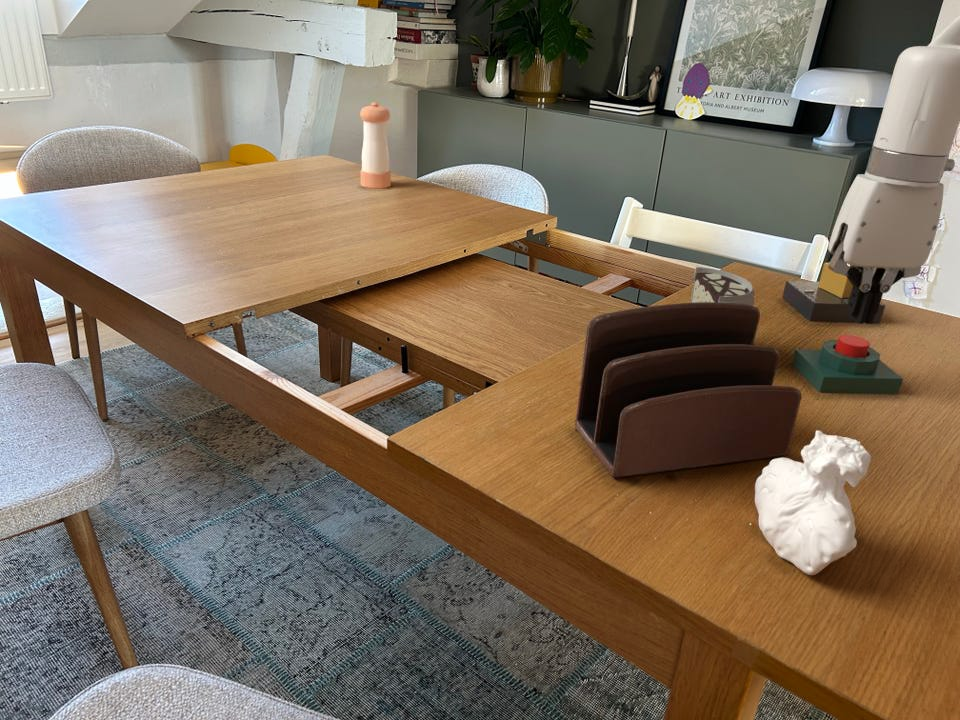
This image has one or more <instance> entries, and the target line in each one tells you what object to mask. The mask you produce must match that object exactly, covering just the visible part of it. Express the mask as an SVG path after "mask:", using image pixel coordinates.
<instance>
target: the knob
mask: <svg viewBox="0 0 960 720" xmlns="http://www.w3.org/2000/svg"><path fill="white" fill-rule="evenodd" d="M829 263H830V261H828V262H824V263H823V267H822V270H821V273H820V274H821V275H820V278H819V280H818V282H819V285H818V287H820V288H822V289H824V290H826V291H828V292H830V293H832V294H834V295H836V296H838V297H840V298H850V294H851V291H852V287H853V285H852V284H850V282H849V279H848V278H847V276H845V275H841V274H838V273H835V272H833V271H832V270H830V269H829V268H828V265H829Z"/></svg>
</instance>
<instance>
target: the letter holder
mask: <svg viewBox="0 0 960 720" xmlns="http://www.w3.org/2000/svg"><path fill="white" fill-rule="evenodd" d="M760 319H761V312H760V309H759V308H758V307H757V306H751V305H746V304H736V303H721V302H694V303H691V302H681V303H679V302H678V303H671V304H670V303H669V304H658V305H650V306H643V307H635V308H629V309H623V310H617V311H613V312H607V313H603V314H599V315H597V316H595V317H594V318H592V319H591V320H590V321H589V323H588V324H587V328H586V333H585V342H584V349H583V357H582V358H583V359H582V366H581V367H582V369H581V376H580V382H579V390H578V391H579V392H578V401H577V408H576V413H575V420H574V429H575V431H577V433H578V434H579V435H580V436H581V437H582V439H583V440H584V442H585V443H586V444H587V445H588V447H589V449H591V451H592V452H593V454H594V455H595V456H596V457H597V459H598V460H599V462H600V463H601V464H602V466H603V467H604V468H605V470H606V471H607V472H608V473H609V475H610V476H611V477H612V478H613V479H616V478H623V477H631V476H639V475H646V474H647V475H648V474H656V473H664V472H671V471H678V470H687V469H694V468H701V467H710V466H715V465H716V466H718V465H723V464H724V465H725V464H733V463H741V462H747V461H754V460H755V461H756V460H765V459H772V458H781V457H786V456H787V455H789V453H790V449H791V447H790V446H791V442H792V439H793V434H794V430H795V427H796V422H797V418H798V413H799V409H800V405H801V401H802V392H801V390H799V388H796V387H794V386H788V385H773V383H774V380H775V376H776V371H777V368H778V364H779V360H780V351H779V350H778V348H775V347H773V346H772V347H771V346H764V345H763V346H762V345H754V342H755V339H756V335H757V330H758V326H759V323H760Z"/></svg>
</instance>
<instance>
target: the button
mask: <svg viewBox="0 0 960 720" xmlns="http://www.w3.org/2000/svg"><path fill="white" fill-rule="evenodd" d="M836 340H837V344H836V347H835V350H836V351H837V352H839V353H841V354H843V355H846V356H851V357H856V358H865V357H866V355H867V352H868V349H869V347H871V343H870V341H869V340H867V339H866V338H863V337H861V336H857V335H854V334H853V335H852V334H841V335H839V336H838V337H837V339H836Z"/></svg>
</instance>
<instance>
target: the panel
mask: <svg viewBox="0 0 960 720" xmlns="http://www.w3.org/2000/svg"><path fill="white" fill-rule="evenodd" d="M818 285H819V281H809V280H808V281H807V280H806V281H805V280H786V281H785V284H784V289H783V292H782V297H781V298H782V299H783V300H784V301H785V302H786V303H787V304H789V305H790V306H791V307H792V308H793V309H794V310H795V311H796V312H798V313H799V314H800V315H801V316H802V317H804V318H805V319H806V320H807V321H808V322H812V323H814V322H816V323H847V324H850V323H851V324H858V323H857V322H855V321H854V320H853V319H851V318H850V317H849V316H847V305H848V301H849V298H840V297H838V296H836V295H834V294H832V293H830V292H828V291H826V290H824V289H822V288H820V287H818ZM885 308H886V304H884V303H883V302H882V301H881V302H880V305H879V308H878V311H877V314H876V315H875V317H874V320H873V323H872V324H881V321H882V317H883V315H884V311H885Z"/></svg>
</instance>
